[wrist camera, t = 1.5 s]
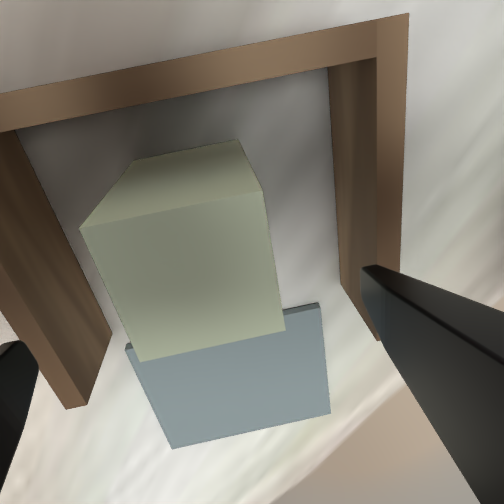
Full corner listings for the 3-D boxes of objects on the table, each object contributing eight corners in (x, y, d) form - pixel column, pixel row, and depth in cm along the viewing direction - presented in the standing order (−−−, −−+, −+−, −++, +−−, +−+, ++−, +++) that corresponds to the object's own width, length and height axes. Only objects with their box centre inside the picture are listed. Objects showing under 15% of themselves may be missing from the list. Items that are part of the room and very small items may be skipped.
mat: (318, 302, 21) (320, 307, 21) (328, 407, 26) (330, 413, 26) (126, 344, 21) (124, 350, 21) (172, 442, 26) (171, 449, 25)
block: (238, 139, 16) (262, 190, 9) (255, 233, 19) (286, 330, 12) (133, 160, 16) (78, 228, 9) (164, 252, 19) (139, 362, 12)
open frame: (348, 30, 15) (408, 12, 10) (356, 281, 21) (397, 336, 17) (-25, 104, 14) (-127, 118, 10) (95, 337, 21) (65, 409, 16)
